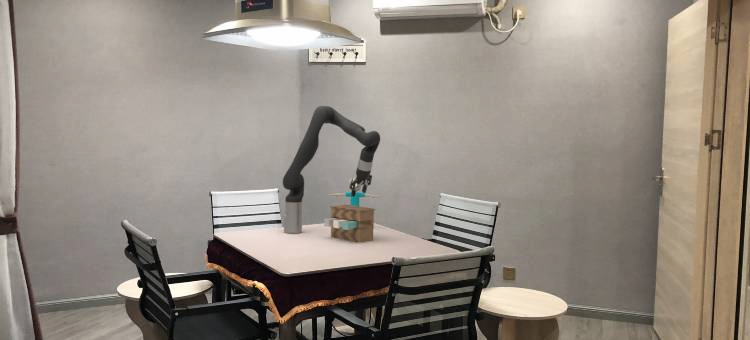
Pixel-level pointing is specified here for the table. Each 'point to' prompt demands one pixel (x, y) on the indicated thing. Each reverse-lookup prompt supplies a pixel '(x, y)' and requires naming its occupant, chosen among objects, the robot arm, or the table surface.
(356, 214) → the console
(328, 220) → the grey key
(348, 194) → the toy
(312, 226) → the table surface
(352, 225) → the teal key
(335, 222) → the ivory key
